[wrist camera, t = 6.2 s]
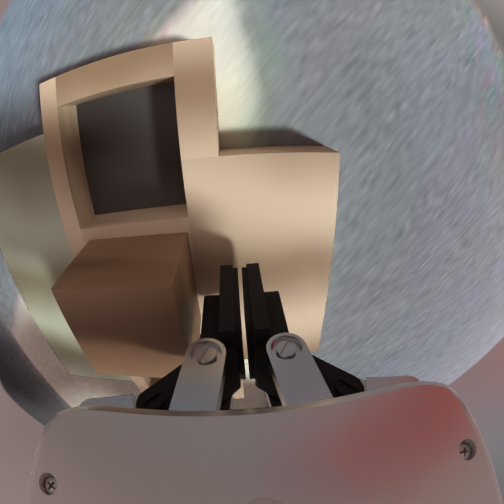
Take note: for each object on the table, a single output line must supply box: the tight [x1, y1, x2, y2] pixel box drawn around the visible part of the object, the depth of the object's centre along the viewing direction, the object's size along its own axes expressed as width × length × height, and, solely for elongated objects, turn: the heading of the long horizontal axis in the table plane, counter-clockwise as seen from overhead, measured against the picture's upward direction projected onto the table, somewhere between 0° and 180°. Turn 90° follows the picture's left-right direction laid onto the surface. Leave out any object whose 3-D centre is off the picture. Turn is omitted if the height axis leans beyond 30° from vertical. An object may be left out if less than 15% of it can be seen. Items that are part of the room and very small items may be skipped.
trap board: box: [0, 37, 340, 399], centre depth 14 cm, size 22×19×2 cm
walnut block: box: [51, 232, 201, 378], centre depth 11 cm, size 5×5×4 cm
